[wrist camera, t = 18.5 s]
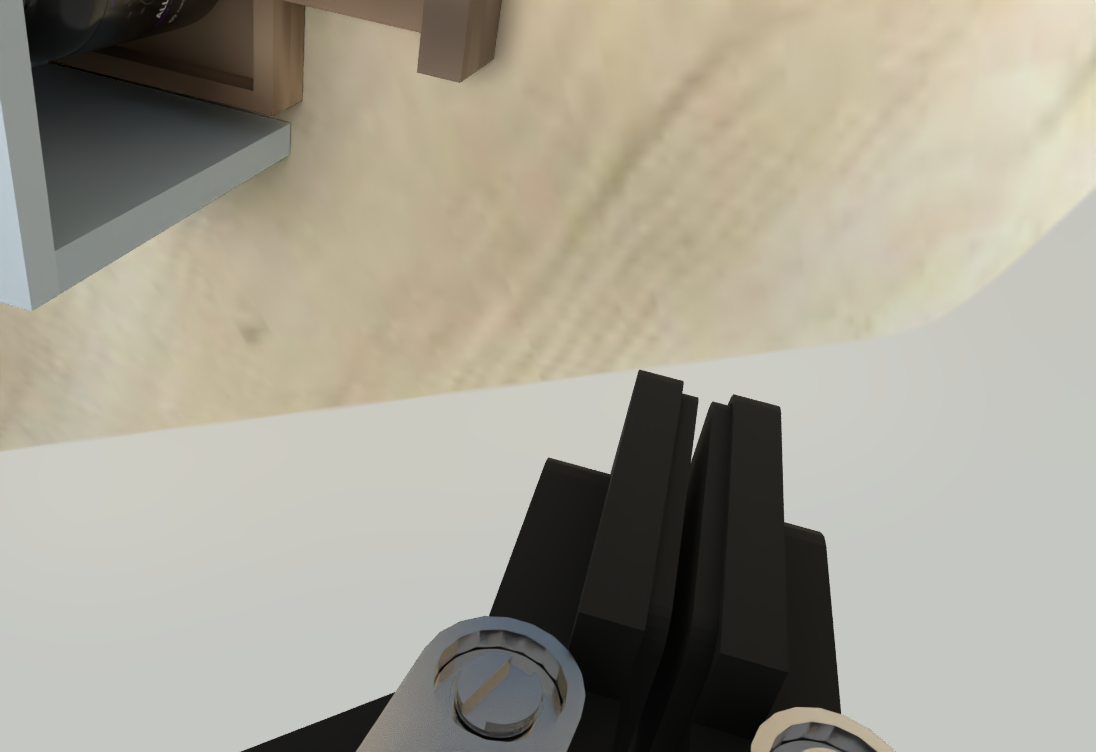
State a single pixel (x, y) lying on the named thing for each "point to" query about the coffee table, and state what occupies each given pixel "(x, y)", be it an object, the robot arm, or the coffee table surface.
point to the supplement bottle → (102, 23)
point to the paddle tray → (289, 47)
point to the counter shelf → (104, 165)
